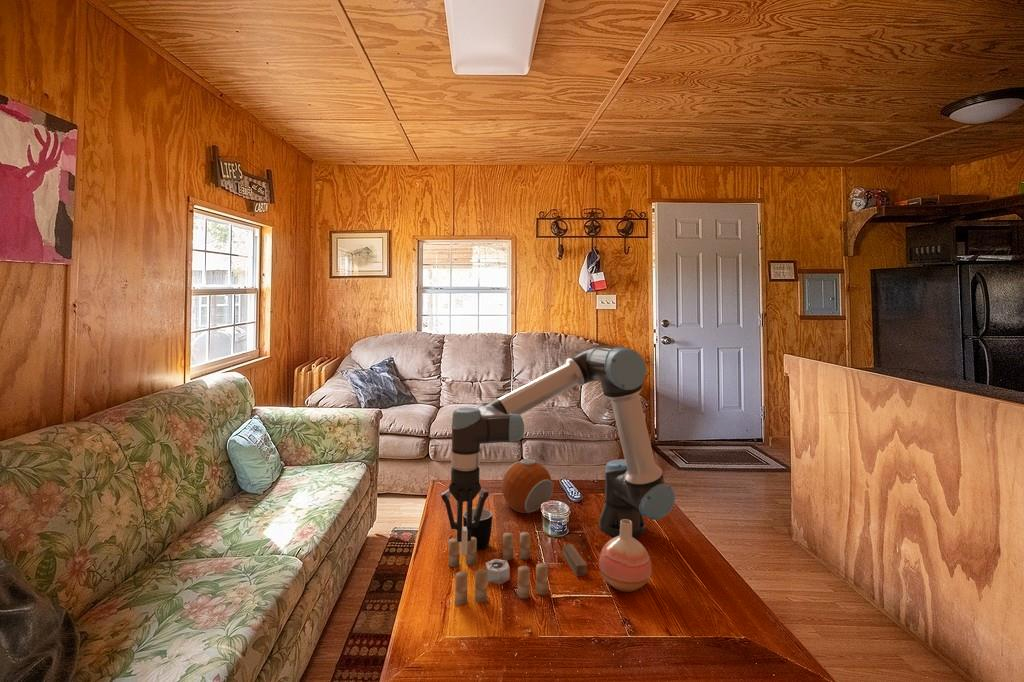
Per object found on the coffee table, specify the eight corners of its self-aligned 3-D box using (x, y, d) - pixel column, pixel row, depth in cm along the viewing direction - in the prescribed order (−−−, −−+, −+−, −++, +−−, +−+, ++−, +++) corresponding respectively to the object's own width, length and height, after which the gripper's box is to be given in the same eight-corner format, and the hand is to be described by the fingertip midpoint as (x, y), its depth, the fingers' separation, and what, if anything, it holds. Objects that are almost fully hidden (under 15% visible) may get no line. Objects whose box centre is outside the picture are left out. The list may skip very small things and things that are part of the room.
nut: (505, 569, 136) (505, 557, 135) (510, 583, 129) (510, 570, 129) (484, 571, 134) (484, 559, 134) (488, 585, 127) (488, 572, 127)
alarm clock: (528, 492, 193) (529, 450, 192) (561, 506, 180) (562, 460, 179) (492, 505, 180) (492, 460, 179) (524, 520, 167) (525, 472, 166)
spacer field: (527, 553, 145) (528, 530, 144) (549, 595, 123) (549, 569, 123) (448, 561, 139) (448, 538, 139) (456, 607, 118) (456, 579, 118)
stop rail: (571, 553, 145) (572, 544, 145) (586, 575, 133) (586, 564, 133) (562, 554, 144) (562, 545, 144) (576, 576, 132) (576, 566, 132)
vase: (652, 576, 133) (654, 514, 132) (649, 605, 120) (651, 537, 119) (602, 567, 137) (604, 507, 136) (594, 594, 124) (596, 528, 123)
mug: (496, 549, 147) (496, 517, 146) (468, 555, 143) (468, 522, 142) (482, 532, 158) (482, 502, 157) (456, 537, 154) (456, 506, 153)
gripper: (487, 461, 133) (485, 543, 134) (439, 463, 130) (438, 547, 131) (492, 469, 125) (489, 557, 127) (441, 472, 122) (440, 561, 124)
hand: (463, 552), depth 129 cm, fingers closed
